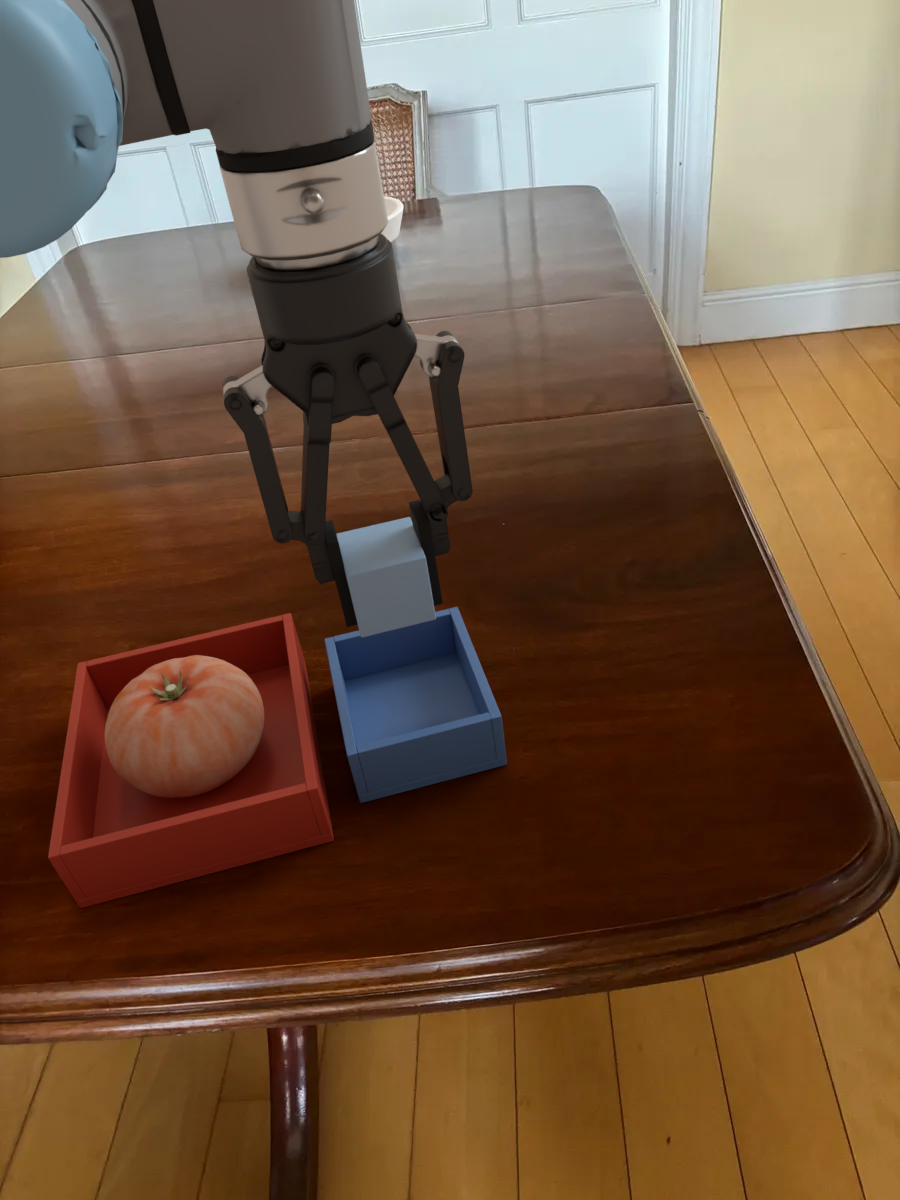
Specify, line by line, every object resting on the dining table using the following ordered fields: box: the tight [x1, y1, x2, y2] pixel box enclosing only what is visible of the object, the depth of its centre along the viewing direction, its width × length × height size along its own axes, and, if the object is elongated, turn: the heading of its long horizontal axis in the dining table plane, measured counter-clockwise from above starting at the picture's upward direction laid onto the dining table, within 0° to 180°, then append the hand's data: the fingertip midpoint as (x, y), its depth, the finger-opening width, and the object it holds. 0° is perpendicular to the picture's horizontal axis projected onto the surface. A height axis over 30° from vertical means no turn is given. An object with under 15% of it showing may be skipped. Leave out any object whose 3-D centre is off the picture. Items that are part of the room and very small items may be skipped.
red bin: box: [47, 612, 335, 909], centre depth 63 cm, size 16×18×5 cm
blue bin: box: [324, 606, 508, 804], centre depth 65 cm, size 10×12×5 cm
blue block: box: [336, 516, 436, 637], centre depth 58 cm, size 5×5×5 cm
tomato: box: [105, 655, 264, 798], centre depth 62 cm, size 11×11×8 cm
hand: (391, 602), depth 59 cm, fingers closed on blue block, 5 cm apart
